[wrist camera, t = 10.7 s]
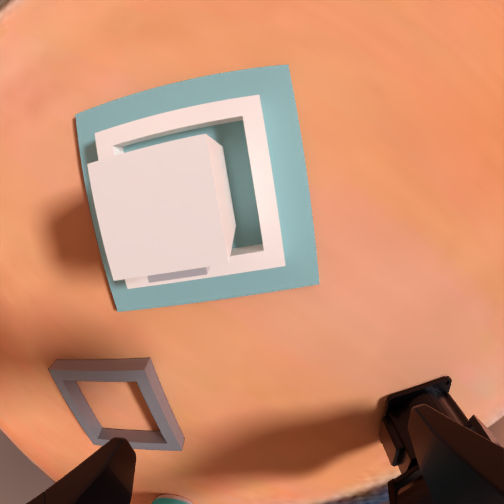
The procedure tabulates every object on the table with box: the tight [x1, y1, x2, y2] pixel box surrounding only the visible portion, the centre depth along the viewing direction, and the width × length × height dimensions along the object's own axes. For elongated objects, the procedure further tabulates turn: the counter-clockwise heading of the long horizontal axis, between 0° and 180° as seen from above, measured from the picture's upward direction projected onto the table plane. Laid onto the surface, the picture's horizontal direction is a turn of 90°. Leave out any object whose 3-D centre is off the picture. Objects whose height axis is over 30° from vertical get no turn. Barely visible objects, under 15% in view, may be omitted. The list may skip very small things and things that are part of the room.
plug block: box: [87, 134, 236, 283], centre depth 13 cm, size 4×5×7 cm
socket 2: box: [75, 65, 319, 312], centre depth 16 cm, size 13×13×2 cm
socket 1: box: [48, 358, 185, 451], centre depth 21 cm, size 9×9×2 cm
